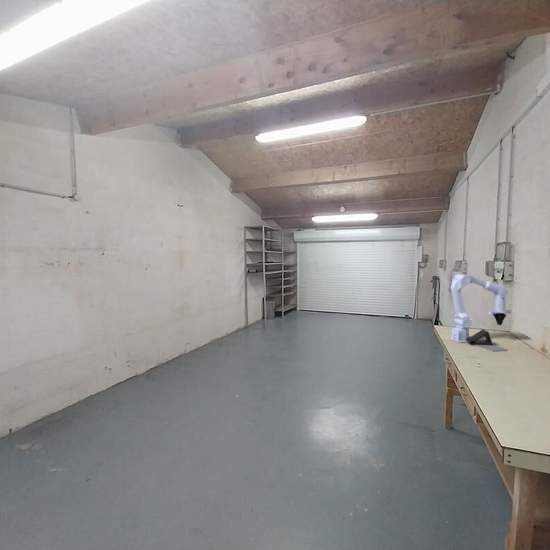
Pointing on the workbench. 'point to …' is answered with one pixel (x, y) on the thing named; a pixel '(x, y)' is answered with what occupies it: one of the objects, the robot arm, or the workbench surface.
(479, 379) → the workbench surface
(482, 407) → the workbench surface
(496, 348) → the mat
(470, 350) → the workbench surface
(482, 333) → the phone stand
